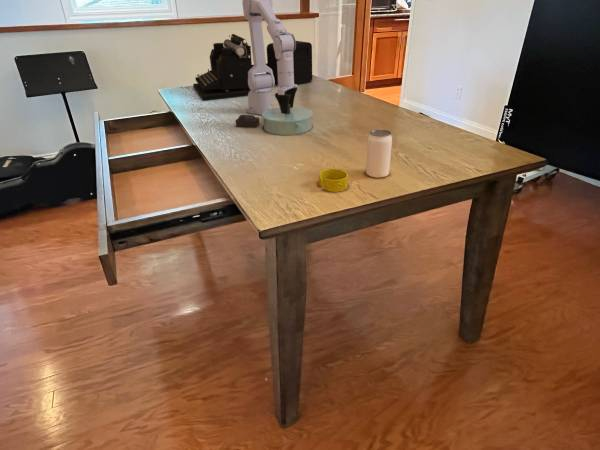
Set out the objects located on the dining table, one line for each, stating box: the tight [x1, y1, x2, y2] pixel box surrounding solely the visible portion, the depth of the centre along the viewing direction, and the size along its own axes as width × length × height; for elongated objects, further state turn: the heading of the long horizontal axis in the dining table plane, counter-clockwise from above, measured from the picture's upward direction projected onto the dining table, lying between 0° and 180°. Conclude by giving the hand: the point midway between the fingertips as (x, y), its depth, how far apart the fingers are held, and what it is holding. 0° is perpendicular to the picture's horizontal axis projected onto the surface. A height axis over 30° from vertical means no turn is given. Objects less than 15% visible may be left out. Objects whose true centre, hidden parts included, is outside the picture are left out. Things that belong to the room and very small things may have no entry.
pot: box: [262, 115, 313, 136], centre depth 155 cm, size 18×23×5 cm
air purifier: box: [266, 40, 313, 86], centre depth 218 cm, size 20×15×20 cm
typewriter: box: [192, 33, 253, 102], centre depth 204 cm, size 31×27×25 cm
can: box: [365, 128, 393, 179], centre depth 114 cm, size 6×6×12 cm
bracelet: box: [318, 168, 349, 193], centre depth 110 cm, size 7×8×3 cm
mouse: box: [235, 114, 260, 129], centre depth 158 cm, size 8×5×4 cm, turn 77°
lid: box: [261, 103, 314, 122], centre depth 153 cm, size 19×19×5 cm
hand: (287, 110), depth 153 cm, fingers open, 7 cm apart
